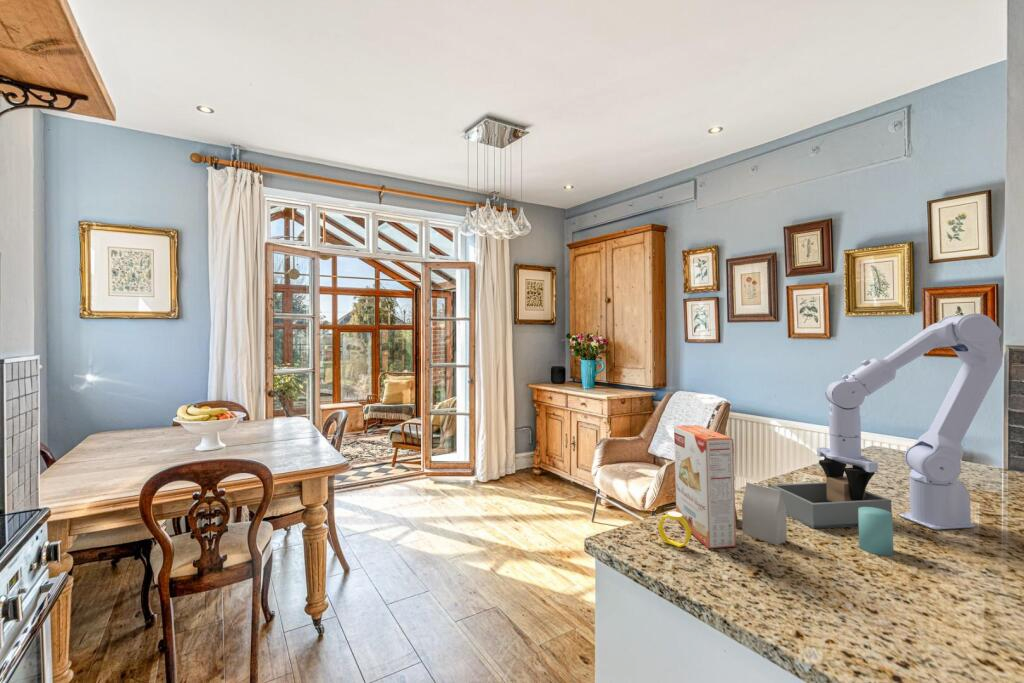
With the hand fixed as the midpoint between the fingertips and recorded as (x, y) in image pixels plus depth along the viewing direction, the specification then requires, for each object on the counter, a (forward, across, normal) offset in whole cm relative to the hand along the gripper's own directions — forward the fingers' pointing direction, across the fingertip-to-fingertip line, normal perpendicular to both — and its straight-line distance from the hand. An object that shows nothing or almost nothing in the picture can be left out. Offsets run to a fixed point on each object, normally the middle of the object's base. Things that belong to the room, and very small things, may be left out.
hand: (846, 496), depth 104 cm
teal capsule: (+4, +17, -9) cm, 20 cm away
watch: (+4, +10, -44) cm, 46 cm away
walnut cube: (+1, 0, 0) cm, 1 cm away
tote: (+4, 0, -4) cm, 6 cm away
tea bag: (+4, +9, -26) cm, 27 cm away
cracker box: (+4, +6, -36) cm, 37 cm away
